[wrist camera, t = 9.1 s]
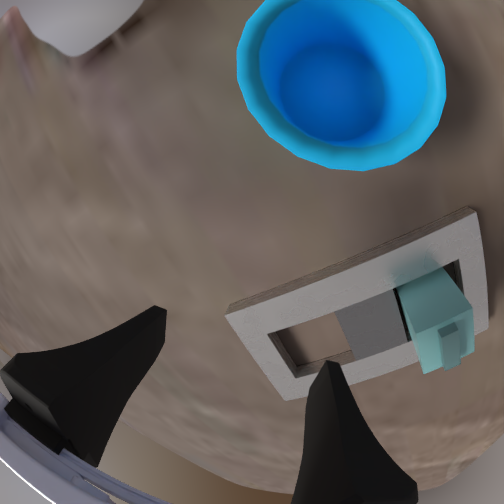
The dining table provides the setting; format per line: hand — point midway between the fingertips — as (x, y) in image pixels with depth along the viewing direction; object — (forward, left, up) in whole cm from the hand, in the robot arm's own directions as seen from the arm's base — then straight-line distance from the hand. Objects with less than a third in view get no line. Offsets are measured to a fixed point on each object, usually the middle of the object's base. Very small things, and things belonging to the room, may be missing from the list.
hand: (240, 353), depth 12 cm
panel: (-9, +2, -10) cm, 14 cm away
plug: (-12, -1, -10) cm, 16 cm away
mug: (0, -14, -10) cm, 17 cm away
